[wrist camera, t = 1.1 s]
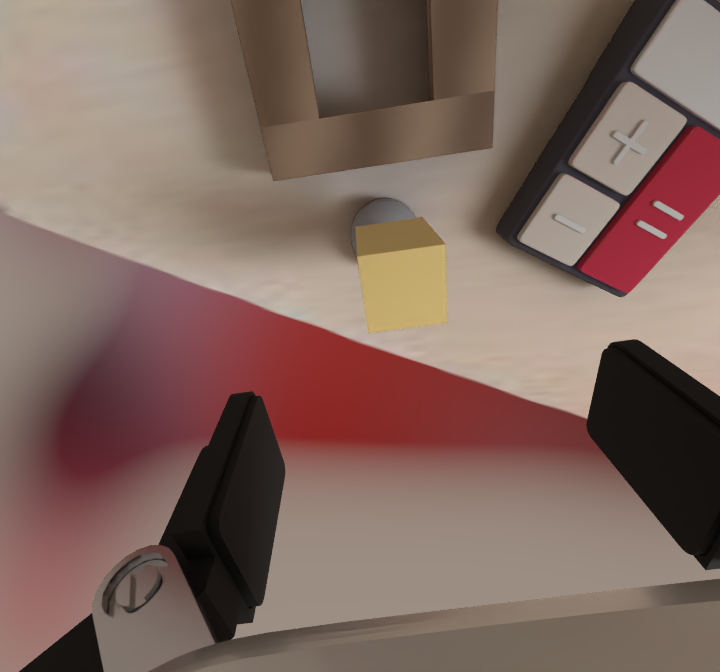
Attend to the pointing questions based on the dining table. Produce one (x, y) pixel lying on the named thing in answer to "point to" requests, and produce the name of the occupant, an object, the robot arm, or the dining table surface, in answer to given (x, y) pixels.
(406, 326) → the peg
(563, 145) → the calculator
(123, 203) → the dining table surface
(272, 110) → the keyhole board
